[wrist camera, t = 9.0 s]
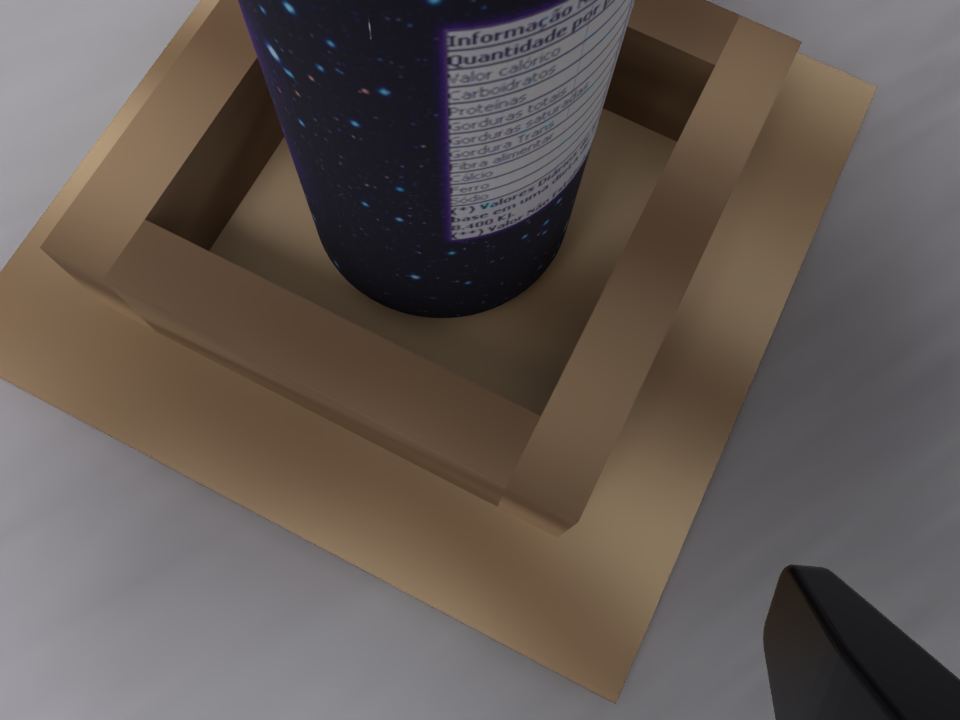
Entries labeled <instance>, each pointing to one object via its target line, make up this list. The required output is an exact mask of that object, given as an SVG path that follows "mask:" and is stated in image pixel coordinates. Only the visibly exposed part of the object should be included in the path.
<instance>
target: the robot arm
mask: <svg viewBox="0 0 960 720" xmlns="http://www.w3.org/2000/svg"><path fill="white" fill-rule="evenodd" d="M763 642H764V652H765V658H766V664H767V670H768V676H769V682H770V688H771V694H772V700H773V706H774V713H775V719H776V720H960V679H959V678H957V677H956V676H955V675H954V674H953V673H952V672H950V671H949V670H948V669H947V668H946V667H944V666H943V665H942V664H941V663H940V662H938V661H937V660H936V659H935V658H934V657H933V656H931V655H930V654H929V653H928V652H927V651H925V650H924V649H923V648H922V647H921V646H920V645H918V644H917V643H916V642H915V641H914V640H912V639H911V638H910V637H909V636H908V635H906V634H905V633H904V632H903V631H902V630H901V629H899V628H898V627H897V626H896V625H895V624H893V623H892V622H891V621H890V620H889V619H887V618H886V617H885V616H884V615H883V614H882V613H880V612H879V611H878V610H877V609H876V608H874V607H873V606H872V605H871V604H870V603H869V602H867V601H866V600H865V599H864V598H863V597H861V596H860V595H859V594H858V593H857V592H855V591H854V590H853V589H852V588H851V587H850V586H848V585H847V584H846V583H845V582H844V581H842V580H841V579H840V578H839V577H838V576H836V575H835V574H834V573H833V572H831V571H830V570H828V569H826V568H822V567H813V566H802V565H789V566H787V567H785V568H784V570H783V571H782V573H781V574H780V577H779V580H778V583H777V586H776V590H775V593H774V596H773V599H772V602H771V606H770V609H769V612H768V615H767V619H766V622H765V626H764V635H763Z"/></svg>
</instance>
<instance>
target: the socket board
mask: <svg viewBox="0 0 960 720" xmlns="http://www.w3.org/2000/svg"><path fill="white" fill-rule="evenodd" d="M801 43H802V42H801V41H798V40H796V39H794V38H791V37H789V36H787V35H784V34H782V33H780V32H777V31H775V30H773V29H770V28H768V27H766V26H764V25H761V24H759V23H757V22H754V21H752V20H750V19H747V18H745V17H743V16H740V15H738V14H736V13H734V12H731V11H729V10H727V9H724V8H722V7H720V6H717V5H715V4H713V3H710V2H708V1H706V0H635V1H634V5H633V8H632V11H631V15H630V18H629V21H628V25H627V28H626V32H625V35H624V38H623V42H622V45H621V48H620V52H619V55H618V58H617V62H616V65H615V68H614V72H613V75H612V78H611V82H610V85H609V89H608V92H607V95H606V99H605V102H604V105H603V109H602V112H601V115H600V119H599V122H598V125H597V129H596V132H595V135H594V139H593V142H592V146H591V149H590V152H589V156H588V159H587V162H586V166H585V169H584V172H583V176H582V179H581V182H580V186H579V189H578V192H577V196H576V199H575V203H574V206H573V209H572V213H571V216H570V219H569V223H568V226H567V229H566V233H565V236H564V239H563V241H562V244H561V246H560V248H559V250H558V252H557V254H556V256H555V258H554V259H553V261H552V262H551V264H550V265H549V267H548V268H547V269H546V271H545V272H544V273H543V274H542V275H541V277H540V278H539V279H538V280H537V281H536V282H535V283H534V284H532V285H531V286H530V287H529V288H528V289H527V290H525V291H524V292H522V293H521V294H520V295H518V296H517V297H515V298H513V299H512V300H510V301H508V302H506V303H504V304H503V305H501V306H498V307H496V308H493V309H491V310H488V311H485V312H482V313H478V314H474V315H470V316H464V317H456V318H428V317H420V316H415V315H410V314H406V313H402V312H399V311H396V310H393V309H391V308H388V307H386V306H384V305H381V304H379V303H377V302H376V301H374V300H372V299H370V298H369V297H367V296H366V295H364V294H363V293H361V292H360V291H359V290H357V289H356V288H355V287H354V286H353V285H351V284H350V283H349V282H348V281H347V280H346V279H345V278H344V277H343V276H342V275H341V274H340V272H339V271H338V270H337V269H336V267H335V266H334V265H333V263H332V262H331V260H330V259H329V257H328V255H327V253H326V251H325V250H324V247H323V245H322V243H321V241H320V238H319V235H318V232H317V229H316V226H315V223H314V220H313V217H312V214H311V212H310V209H309V206H308V203H307V200H306V197H305V194H304V191H303V188H302V185H301V183H300V180H299V177H298V174H297V171H296V168H295V165H294V162H293V159H292V156H291V153H290V151H289V148H288V145H287V142H286V139H285V136H284V133H283V130H282V127H281V124H280V121H279V119H278V116H277V113H276V110H275V107H274V104H273V101H272V98H271V95H270V92H269V90H268V87H267V84H266V81H265V78H264V75H263V72H262V69H261V66H260V63H259V60H258V58H257V55H256V52H255V49H254V46H253V43H252V40H251V37H250V34H249V31H248V29H247V26H246V23H245V20H244V17H243V14H242V11H241V8H240V5H239V2H238V0H201V1H200V2H199V3H198V5H197V6H196V7H195V9H194V10H193V11H192V13H191V14H190V16H189V17H188V18H187V20H186V21H185V22H184V24H183V25H182V26H181V28H180V29H179V30H178V32H177V33H176V35H175V36H174V37H173V39H172V40H171V41H170V43H169V44H168V45H167V47H166V48H165V49H164V51H163V52H162V54H161V55H160V56H159V58H158V59H157V60H156V62H155V63H154V64H153V66H152V67H151V68H150V70H149V71H148V73H147V74H146V75H145V77H144V78H143V79H142V81H141V82H140V83H139V85H138V86H137V87H136V89H135V90H134V92H133V93H132V94H131V96H130V97H129V98H128V100H127V101H126V102H125V104H124V105H123V107H122V108H121V109H120V111H119V112H118V113H117V115H116V116H115V117H114V119H113V120H112V121H111V123H110V124H109V126H108V127H107V128H106V130H105V131H104V132H103V134H102V135H101V136H100V138H99V139H98V140H97V142H96V143H95V145H94V146H93V147H92V149H91V150H90V151H89V153H88V154H87V155H86V157H85V158H84V159H83V161H82V162H81V164H80V165H79V166H78V168H77V169H76V170H75V172H74V173H73V174H72V176H71V177H70V178H69V180H68V181H67V183H66V184H65V185H64V187H63V188H62V189H61V191H60V192H59V193H58V195H57V196H56V197H55V199H54V200H53V202H52V203H51V204H50V206H49V207H48V208H47V210H46V211H45V212H44V214H43V215H42V216H41V218H40V219H39V221H38V222H37V223H36V225H35V226H34V227H33V229H32V230H31V231H30V233H29V234H28V235H27V237H26V238H25V240H24V241H23V242H22V244H21V245H20V246H19V248H18V249H17V250H16V252H15V253H14V255H13V256H12V257H11V259H10V260H9V261H8V263H7V264H6V265H5V267H4V268H3V269H2V271H1V272H0V378H2V379H4V380H6V381H8V382H10V383H12V384H13V385H15V386H17V387H19V388H21V389H23V390H25V391H27V392H28V393H30V394H32V395H34V396H36V397H38V398H40V399H42V400H44V401H45V402H47V403H49V404H51V405H53V406H55V407H57V408H59V409H61V410H62V411H64V412H66V413H68V414H70V415H72V416H74V417H76V418H77V419H79V420H81V421H83V422H85V423H87V424H89V425H91V426H93V427H94V428H96V429H98V430H100V431H102V432H104V433H106V434H108V435H110V436H111V437H113V438H115V439H117V440H119V441H121V442H123V443H125V444H126V445H128V446H130V447H132V448H134V449H136V450H138V451H140V452H142V453H143V454H145V455H147V456H149V457H151V458H153V459H155V460H157V461H159V462H160V463H162V464H164V465H166V466H168V467H170V468H172V469H174V470H175V471H177V472H179V473H181V474H183V475H185V476H187V477H189V478H191V479H192V480H194V481H196V482H198V483H200V484H202V485H204V486H206V487H208V488H209V489H211V490H213V491H215V492H217V493H219V494H221V495H223V496H225V497H226V498H228V499H230V500H232V501H234V502H236V503H238V504H240V505H241V506H243V507H245V508H247V509H249V510H251V511H253V512H255V513H257V514H258V515H260V516H262V517H264V518H266V519H268V520H270V521H272V522H274V523H275V524H277V525H279V526H281V527H283V528H285V529H287V530H289V531H290V532H292V533H294V534H296V535H298V536H300V537H302V538H304V539H306V540H307V541H309V542H311V543H313V544H315V545H317V546H319V547H321V548H323V549H324V550H326V551H328V552H330V553H332V554H334V555H336V556H338V557H339V558H341V559H343V560H345V561H347V562H349V563H351V564H353V565H355V566H356V567H358V568H360V569H362V570H364V571H366V572H368V573H370V574H372V575H373V576H375V577H377V578H379V579H381V580H383V581H385V582H387V583H389V584H390V585H392V586H394V587H396V588H398V589H400V590H402V591H404V592H405V593H407V594H409V595H411V596H413V597H415V598H417V599H419V600H421V601H422V602H424V603H426V604H428V605H430V606H432V607H434V608H436V609H438V610H439V611H441V612H443V613H445V614H447V615H449V616H451V617H453V618H454V619H456V620H458V621H460V622H462V623H464V624H466V625H468V626H470V627H471V628H473V629H475V630H477V631H479V632H481V633H483V634H485V635H487V636H488V637H490V638H492V639H494V640H496V641H498V642H500V643H502V644H503V645H505V646H507V647H509V648H511V649H513V650H515V651H517V652H519V653H520V654H522V655H524V656H526V657H528V658H530V659H532V660H534V661H536V662H537V663H539V664H541V665H543V666H545V667H547V668H549V669H551V670H552V671H554V672H556V673H558V674H560V675H562V676H564V677H566V678H568V679H569V680H571V681H573V682H575V683H577V684H579V685H581V686H583V687H585V688H586V689H588V690H590V691H592V692H594V693H596V694H598V695H600V696H602V697H603V698H605V699H607V700H609V701H611V702H613V703H616V701H617V699H618V696H619V694H620V692H621V689H622V687H623V684H624V682H625V680H626V677H627V675H628V673H629V670H630V668H631V666H632V663H633V661H634V659H635V656H636V654H637V652H638V649H639V647H640V644H641V642H642V640H643V637H644V635H645V633H646V630H647V628H648V626H649V623H650V621H651V619H652V616H653V614H654V611H655V609H656V607H657V604H658V602H659V600H660V597H661V595H662V593H663V590H664V588H665V586H666V583H667V581H668V578H669V576H670V574H671V571H672V569H673V567H674V564H675V562H676V560H677V557H678V555H679V553H680V550H681V548H682V545H683V543H684V541H685V538H686V536H687V534H688V531H689V529H690V527H691V524H692V522H693V520H694V517H695V515H696V513H697V510H698V508H699V505H700V503H701V501H702V498H703V496H704V494H705V491H706V489H707V487H708V484H709V482H710V480H711V477H712V475H713V472H714V470H715V468H716V465H717V463H718V461H719V458H720V456H721V454H722V451H723V449H724V447H725V444H726V442H727V439H728V437H729V435H730V432H731V430H732V428H733V425H734V423H735V421H736V418H737V416H738V414H739V411H740V409H741V407H742V404H743V402H744V399H745V397H746V395H747V392H748V390H749V388H750V385H751V383H752V381H753V378H754V376H755V374H756V371H757V369H758V366H759V364H760V362H761V359H762V357H763V355H764V352H765V350H766V348H767V345H768V343H769V341H770V338H771V336H772V333H773V331H774V329H775V326H776V324H777V322H778V319H779V317H780V315H781V312H782V310H783V308H784V305H785V303H786V300H787V298H788V296H789V293H790V291H791V289H792V286H793V284H794V282H795V279H796V277H797V275H798V272H799V270H800V268H801V265H802V263H803V260H804V258H805V256H806V253H807V251H808V249H809V246H810V244H811V242H812V239H813V237H814V235H815V232H816V230H817V227H818V225H819V223H820V220H821V218H822V216H823V213H824V211H825V209H826V206H827V204H828V202H829V199H830V197H831V194H832V192H833V190H834V187H835V185H836V183H837V180H838V178H839V176H840V173H841V171H842V169H843V166H844V164H845V161H846V159H847V157H848V154H849V152H850V150H851V147H852V145H853V143H854V140H855V138H856V136H857V133H858V131H859V129H860V126H861V124H862V121H863V119H864V117H865V114H866V112H867V110H868V107H869V105H870V103H871V100H872V98H873V96H874V93H875V91H876V88H877V86H874V85H872V84H870V83H867V82H865V81H863V80H861V79H858V78H856V77H854V76H851V75H849V74H847V73H844V72H842V71H840V70H838V69H835V68H833V67H831V66H828V65H826V64H824V63H821V62H819V61H817V60H815V59H812V58H810V57H808V56H805V55H803V54H801V53H798V52H797V51H798V49H799V47H800V45H801Z"/></svg>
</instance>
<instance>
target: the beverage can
mask: <svg viewBox="0 0 960 720" xmlns="http://www.w3.org/2000/svg"><path fill="white" fill-rule="evenodd" d="M634 1H635V0H238V2H239V5H240V8H241V11H242V14H243V17H244V20H245V23H246V26H247V29H248V31H249V34H250V37H251V40H252V43H253V46H254V49H255V52H256V55H257V58H258V60H259V63H260V66H261V69H262V72H263V75H264V78H265V81H266V84H267V87H268V90H269V92H270V95H271V98H272V101H273V104H274V107H275V110H276V113H277V116H278V119H279V121H280V124H281V127H282V130H283V133H284V136H285V139H286V142H287V145H288V148H289V151H290V153H291V156H292V159H293V162H294V165H295V168H296V171H297V174H298V177H299V180H300V183H301V185H302V188H303V191H304V194H305V197H306V200H307V203H308V206H309V209H310V212H311V214H312V217H313V220H314V223H315V226H316V229H317V232H318V235H319V238H320V241H321V243H322V245H323V247H324V250H325V251H326V253H327V255H328V257H329V259H330V260H331V262H332V263H333V265H334V266H335V267H336V269H337V270H338V271H339V272H340V274H341V275H342V276H343V277H344V278H345V279H346V280H347V281H348V282H349V283H350V284H351V285H353V286H354V287H355V288H356V289H357V290H359V291H360V292H361V293H363V294H364V295H366V296H367V297H369V298H370V299H372V300H374V301H376V302H377V303H379V304H381V305H384V306H386V307H388V308H391V309H393V310H396V311H399V312H402V313H406V314H410V315H415V316H420V317H428V318H456V317H464V316H470V315H474V314H478V313H482V312H485V311H488V310H491V309H493V308H496V307H498V306H501V305H503V304H504V303H506V302H508V301H510V300H512V299H513V298H515V297H517V296H518V295H520V294H521V293H522V292H524V291H525V290H527V289H528V288H529V287H530V286H531V285H532V284H534V283H535V282H536V281H537V280H538V279H539V278H540V277H541V275H542V274H543V273H544V272H545V271H546V269H547V268H548V267H549V265H550V264H551V262H552V261H553V259H554V258H555V256H556V254H557V252H558V250H559V248H560V246H561V244H562V241H563V239H564V236H565V233H566V229H567V226H568V223H569V219H570V216H571V213H572V209H573V206H574V203H575V199H576V196H577V192H578V189H579V186H580V182H581V179H582V176H583V172H584V169H585V166H586V162H587V159H588V156H589V152H590V149H591V146H592V142H593V139H594V135H595V132H596V129H597V125H598V122H599V119H600V115H601V112H602V109H603V105H604V102H605V99H606V95H607V92H608V89H609V85H610V82H611V78H612V75H613V72H614V68H615V65H616V62H617V58H618V55H619V52H620V48H621V45H622V42H623V38H624V35H625V32H626V28H627V25H628V21H629V18H630V15H631V11H632V8H633V5H634Z"/></svg>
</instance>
